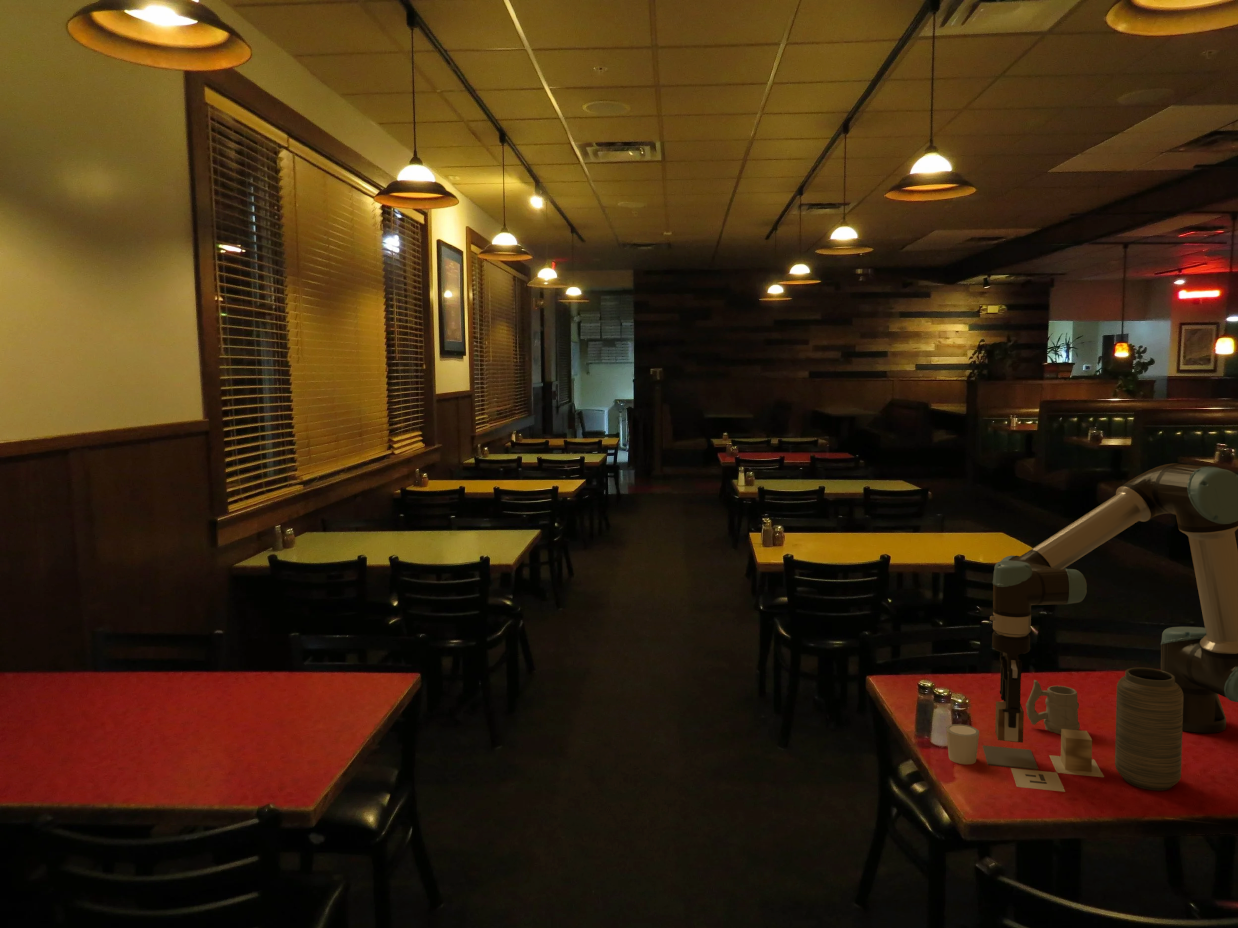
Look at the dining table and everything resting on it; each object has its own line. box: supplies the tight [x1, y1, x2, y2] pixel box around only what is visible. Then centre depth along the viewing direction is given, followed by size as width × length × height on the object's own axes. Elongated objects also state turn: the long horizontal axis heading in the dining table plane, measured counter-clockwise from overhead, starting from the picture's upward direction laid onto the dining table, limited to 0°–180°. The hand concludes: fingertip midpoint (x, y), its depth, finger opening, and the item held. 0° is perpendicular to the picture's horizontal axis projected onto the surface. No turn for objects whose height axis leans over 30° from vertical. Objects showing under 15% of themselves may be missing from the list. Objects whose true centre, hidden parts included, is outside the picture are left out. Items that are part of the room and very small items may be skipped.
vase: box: [1114, 667, 1183, 792], centre depth 176 cm, size 12×12×23 cm
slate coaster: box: [982, 744, 1039, 771], centre depth 189 cm, size 10×10×1 cm
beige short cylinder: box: [945, 723, 980, 765], centre depth 189 cm, size 7×7×7 cm
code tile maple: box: [1048, 755, 1105, 778], centre depth 184 cm, size 9×9×1 cm
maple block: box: [1060, 729, 1093, 772], centre depth 184 cm, size 5×5×7 cm
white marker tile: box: [1010, 767, 1066, 793], centre depth 178 cm, size 9×9×1 cm
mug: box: [1025, 679, 1081, 735], centre depth 204 cm, size 8×12×12 cm, turn 80°
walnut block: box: [994, 701, 1025, 744], centre depth 188 cm, size 5×5×7 cm
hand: (1009, 735), depth 189 cm, fingers closed on walnut block, 5 cm apart
